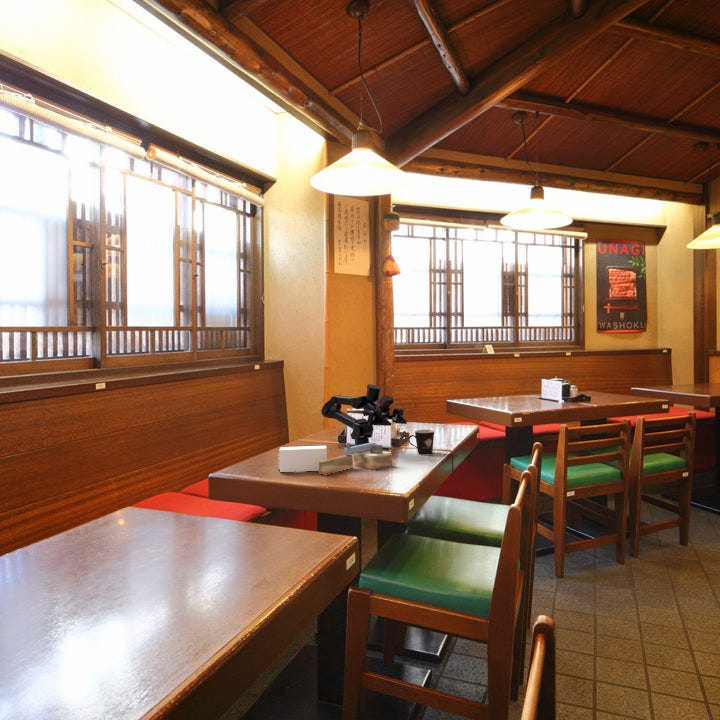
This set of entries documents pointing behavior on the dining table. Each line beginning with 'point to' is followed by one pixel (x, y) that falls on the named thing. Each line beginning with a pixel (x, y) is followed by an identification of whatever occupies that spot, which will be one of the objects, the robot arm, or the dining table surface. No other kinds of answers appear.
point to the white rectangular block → (301, 458)
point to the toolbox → (373, 462)
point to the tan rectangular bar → (335, 464)
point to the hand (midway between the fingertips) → (398, 423)
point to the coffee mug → (423, 441)
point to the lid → (374, 452)
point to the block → (357, 448)
